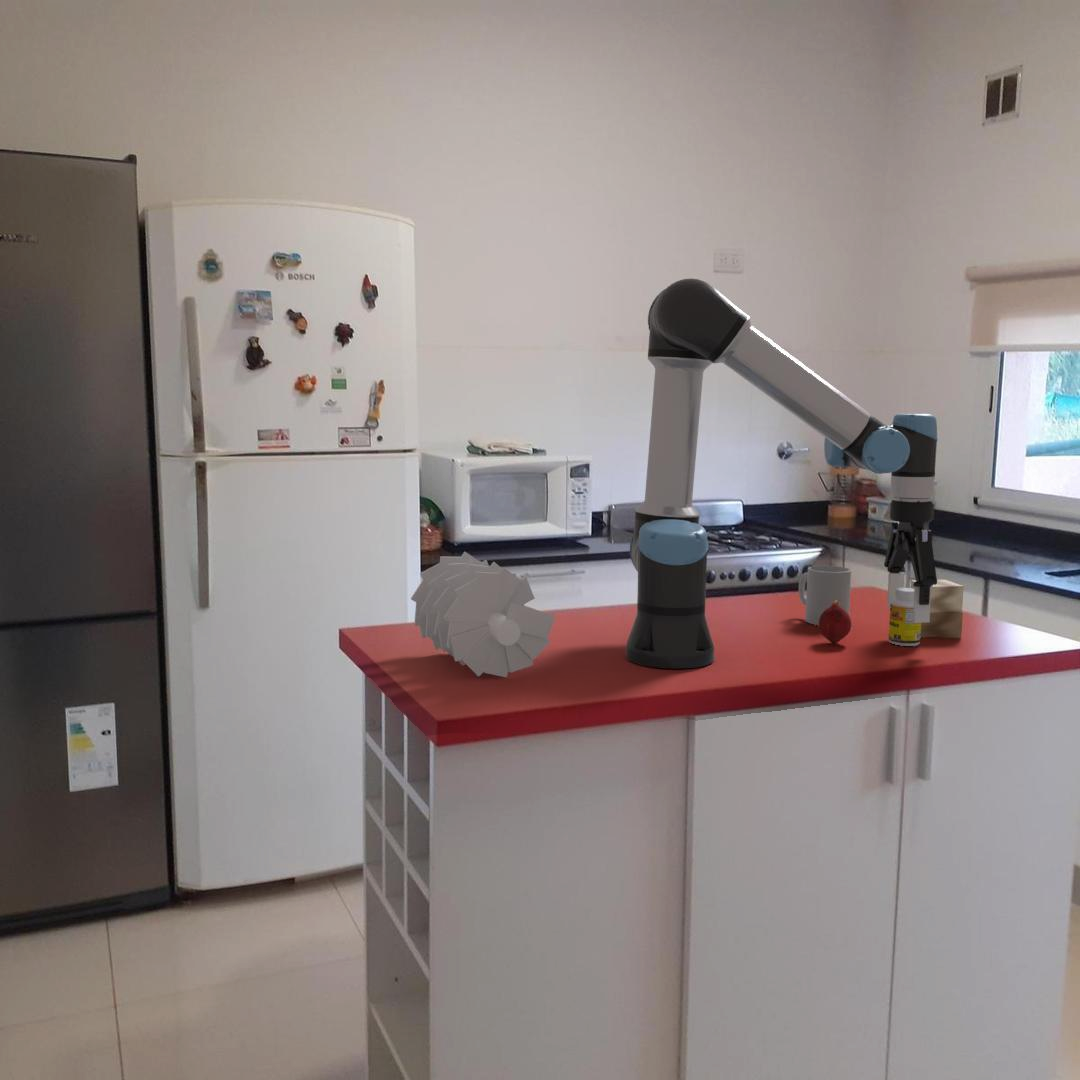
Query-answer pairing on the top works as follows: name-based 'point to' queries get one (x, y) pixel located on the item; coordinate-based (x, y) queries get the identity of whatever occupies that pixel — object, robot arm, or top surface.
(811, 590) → the mug
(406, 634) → the top surface
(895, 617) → the supplement bottle
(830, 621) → the onion
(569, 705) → the top surface
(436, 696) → the top surface
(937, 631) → the bottom block
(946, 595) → the top block
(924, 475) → the robot arm
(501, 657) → the spiral staircase
